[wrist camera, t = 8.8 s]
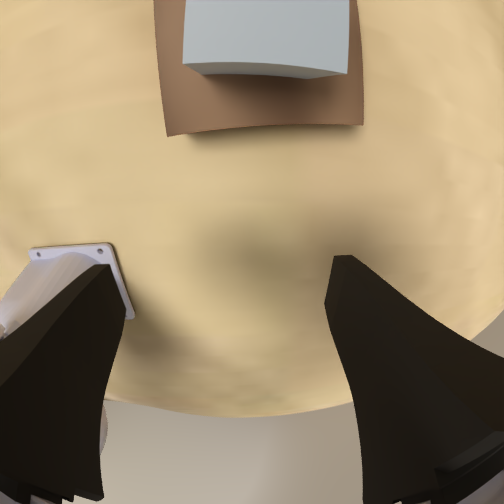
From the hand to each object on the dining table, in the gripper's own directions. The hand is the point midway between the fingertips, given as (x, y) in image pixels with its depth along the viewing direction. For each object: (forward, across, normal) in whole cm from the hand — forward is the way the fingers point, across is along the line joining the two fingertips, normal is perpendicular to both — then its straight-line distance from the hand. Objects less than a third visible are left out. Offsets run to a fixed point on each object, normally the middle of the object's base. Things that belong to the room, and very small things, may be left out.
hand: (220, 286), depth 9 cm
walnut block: (+11, -2, -9) cm, 14 cm away
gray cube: (+7, -2, -9) cm, 11 cm away
